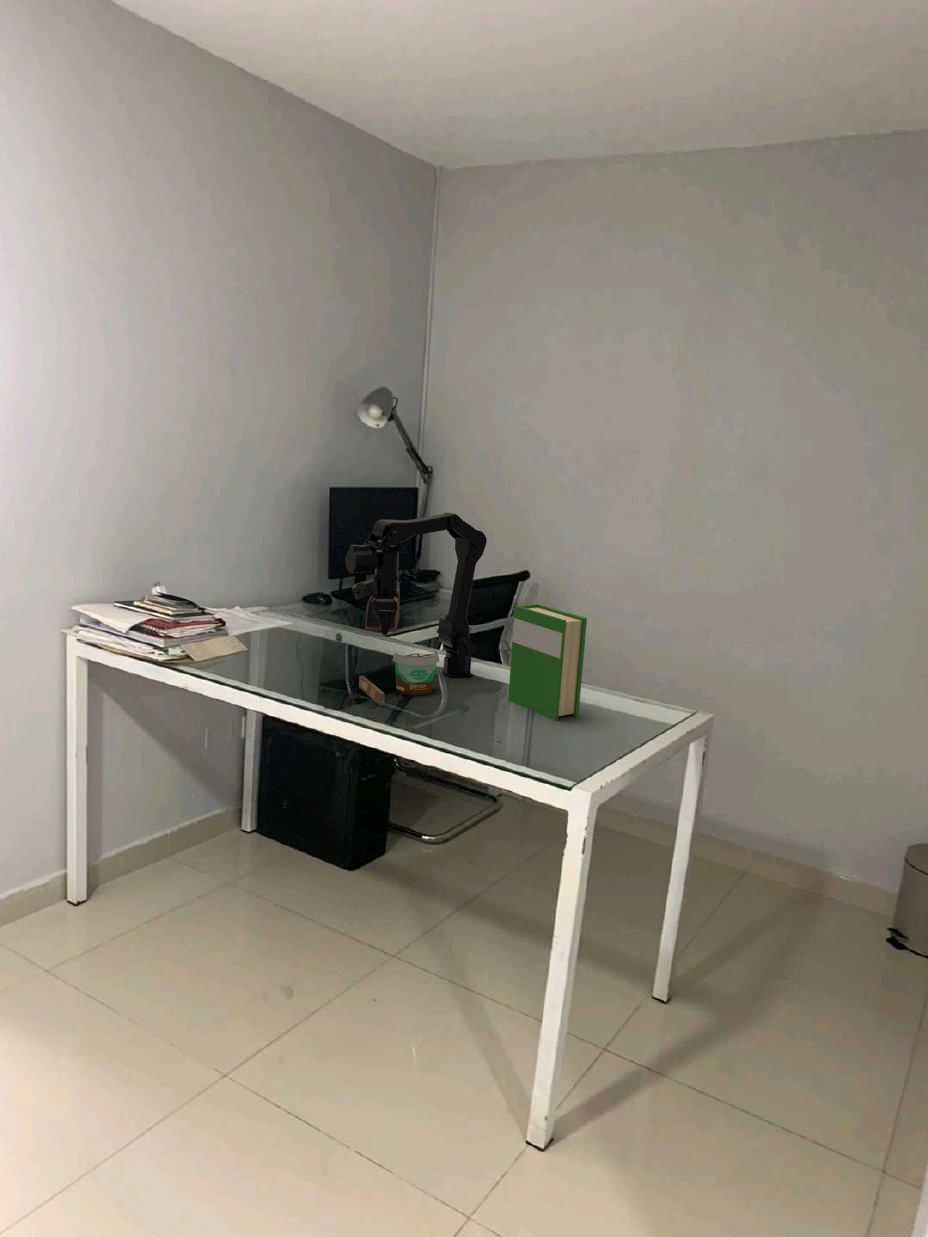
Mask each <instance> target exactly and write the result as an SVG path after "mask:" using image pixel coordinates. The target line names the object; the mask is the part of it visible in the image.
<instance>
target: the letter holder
mask: <svg viewBox="0 0 928 1237" xmlns="http://www.w3.org/2000/svg"><path fill="white" fill-rule="evenodd" d="M400 588H401V583H400V581H398V589H399V598H398V609H397V613H396V615H395V617H394V619H393V622H392V624H391V626H390V629H389V631H388V632H394V633H395V632H396V631H397V629H398V624H399V621H400V603H401V602H400V600H401V598H400V597H401V596H400V594H401V593H400V592H401V590H400ZM393 597H395V596H393ZM395 598H397V597H395ZM373 599H374V596H373V595H370V596H369V599H368V601H367V604H366V605H367V606H366V612H365V613H366V615H365V628H364V630H365V631H373V632H374V631H375V632H376V631H377V632H382V630H381V625H380V620H379V616H378V615H377V614H375V612H373V610H372V601H373Z"/></svg>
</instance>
